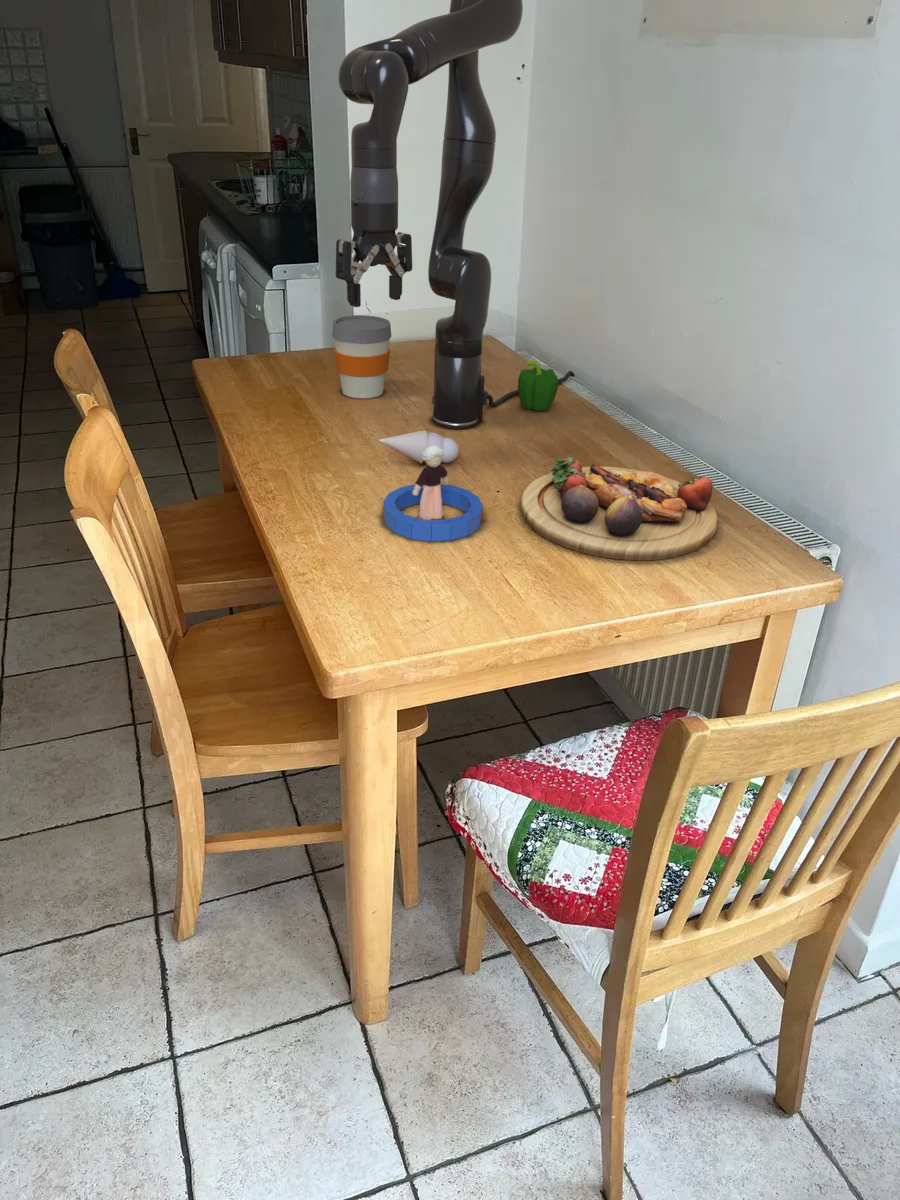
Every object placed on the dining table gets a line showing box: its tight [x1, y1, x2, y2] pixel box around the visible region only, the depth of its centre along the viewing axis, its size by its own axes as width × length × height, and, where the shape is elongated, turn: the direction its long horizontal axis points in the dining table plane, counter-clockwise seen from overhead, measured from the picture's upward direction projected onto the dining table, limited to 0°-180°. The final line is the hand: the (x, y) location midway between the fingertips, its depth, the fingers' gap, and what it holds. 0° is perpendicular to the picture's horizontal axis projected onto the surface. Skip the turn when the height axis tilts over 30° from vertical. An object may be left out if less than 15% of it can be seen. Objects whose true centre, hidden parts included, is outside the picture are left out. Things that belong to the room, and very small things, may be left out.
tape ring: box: [382, 483, 484, 543], centre depth 145 cm, size 16×16×3 cm
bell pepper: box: [517, 360, 559, 412], centre depth 191 cm, size 8×8×10 cm
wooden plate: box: [519, 456, 719, 561], centre depth 147 cm, size 32×32×8 cm
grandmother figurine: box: [412, 444, 450, 520], centre depth 143 cm, size 8×4×13 cm, turn 147°
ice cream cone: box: [377, 429, 460, 464], centre depth 164 cm, size 6×6×15 cm
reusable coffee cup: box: [331, 314, 392, 399], centre depth 195 cm, size 13×13×15 cm
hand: (375, 302), depth 152 cm, fingers open, 8 cm apart
